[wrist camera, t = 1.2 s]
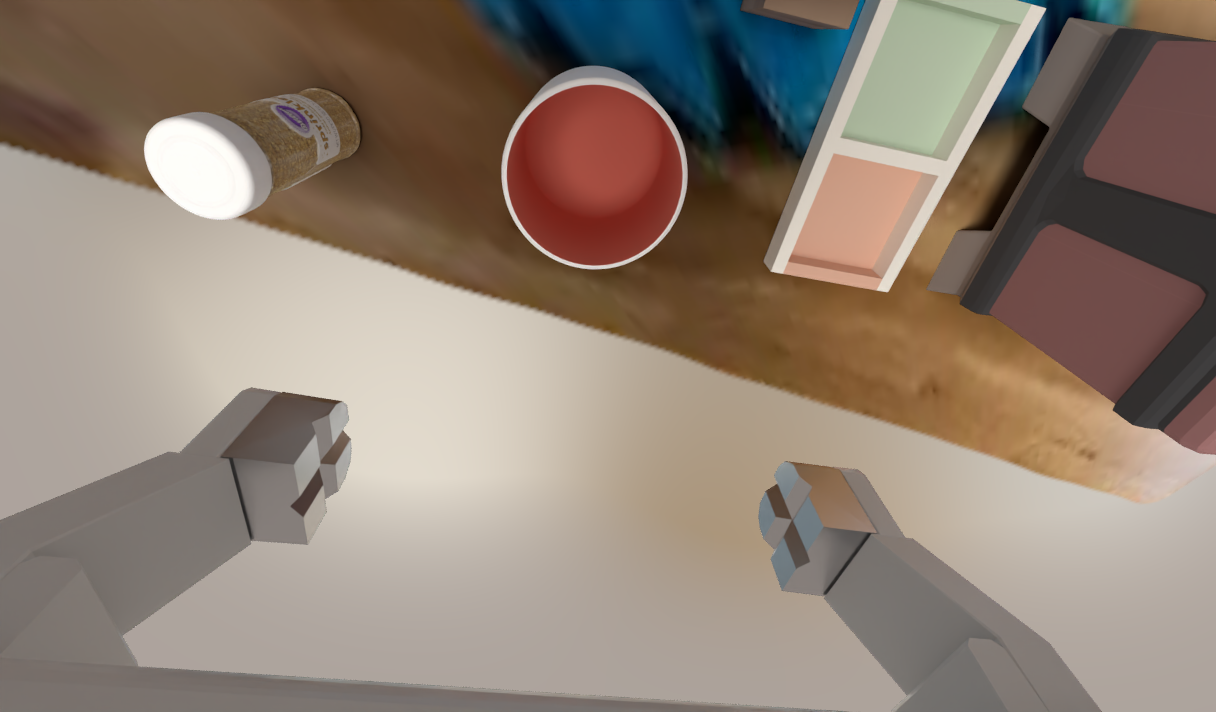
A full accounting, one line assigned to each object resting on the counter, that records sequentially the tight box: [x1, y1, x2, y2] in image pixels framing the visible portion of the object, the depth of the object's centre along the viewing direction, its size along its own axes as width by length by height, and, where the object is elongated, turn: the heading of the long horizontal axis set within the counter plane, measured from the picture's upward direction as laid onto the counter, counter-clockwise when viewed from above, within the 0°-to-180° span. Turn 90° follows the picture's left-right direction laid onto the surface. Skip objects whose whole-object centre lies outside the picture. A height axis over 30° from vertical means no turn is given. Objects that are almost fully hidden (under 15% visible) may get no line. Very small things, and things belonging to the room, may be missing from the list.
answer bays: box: [763, 0, 1046, 292], centre depth 35 cm, size 19×10×2 cm, turn 169°
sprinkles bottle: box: [144, 88, 360, 220], centre depth 28 cm, size 5×5×13 cm
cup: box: [502, 66, 688, 269], centre depth 31 cm, size 10×10×10 cm
